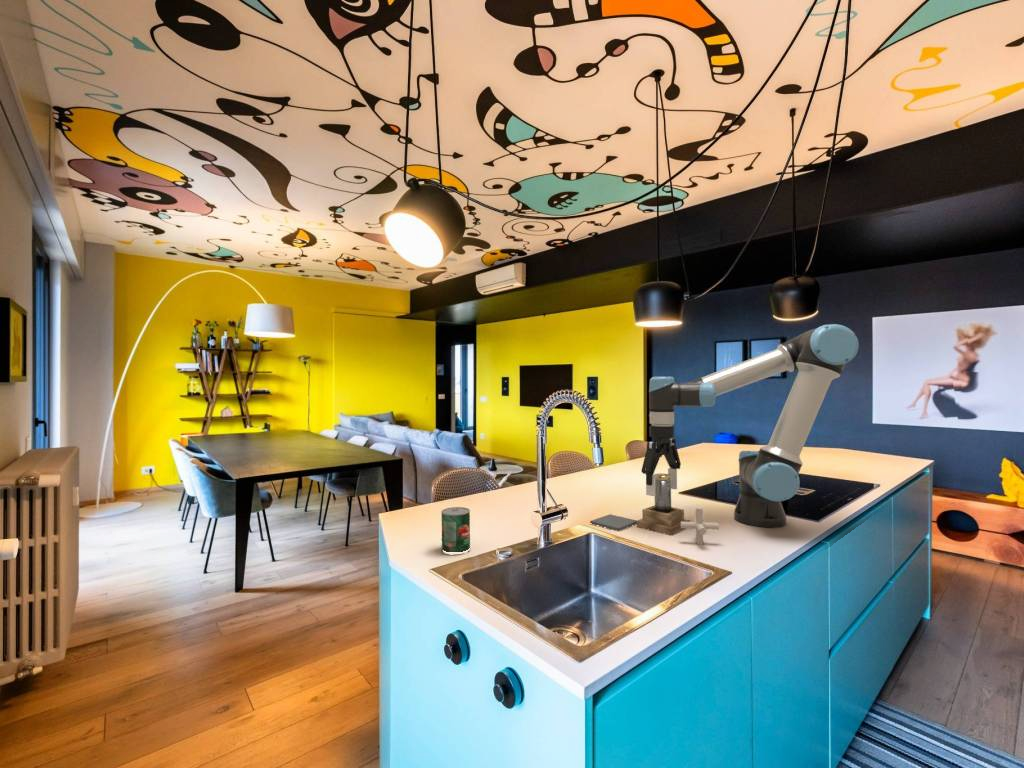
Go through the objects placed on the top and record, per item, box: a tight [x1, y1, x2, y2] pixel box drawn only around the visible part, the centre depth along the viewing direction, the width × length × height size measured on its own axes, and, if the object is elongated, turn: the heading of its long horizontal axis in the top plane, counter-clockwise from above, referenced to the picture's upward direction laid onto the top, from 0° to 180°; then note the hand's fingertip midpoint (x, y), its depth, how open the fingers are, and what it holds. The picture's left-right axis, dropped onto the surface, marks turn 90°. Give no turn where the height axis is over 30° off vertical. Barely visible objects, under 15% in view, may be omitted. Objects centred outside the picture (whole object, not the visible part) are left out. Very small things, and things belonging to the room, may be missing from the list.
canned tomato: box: [440, 506, 471, 552], centre depth 129 cm, size 8×8×11 cm
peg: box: [654, 472, 672, 513], centre depth 147 cm, size 5×5×14 cm
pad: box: [589, 513, 637, 532], centre depth 151 cm, size 11×11×1 cm
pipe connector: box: [680, 507, 720, 545], centre depth 132 cm, size 10×10×10 cm
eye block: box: [635, 504, 691, 536], centre depth 147 cm, size 12×12×6 cm
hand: (661, 492), depth 148 cm, fingers open, 13 cm apart
